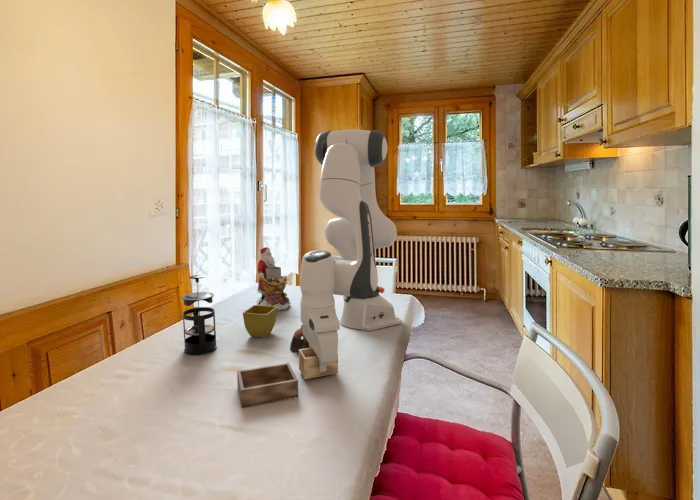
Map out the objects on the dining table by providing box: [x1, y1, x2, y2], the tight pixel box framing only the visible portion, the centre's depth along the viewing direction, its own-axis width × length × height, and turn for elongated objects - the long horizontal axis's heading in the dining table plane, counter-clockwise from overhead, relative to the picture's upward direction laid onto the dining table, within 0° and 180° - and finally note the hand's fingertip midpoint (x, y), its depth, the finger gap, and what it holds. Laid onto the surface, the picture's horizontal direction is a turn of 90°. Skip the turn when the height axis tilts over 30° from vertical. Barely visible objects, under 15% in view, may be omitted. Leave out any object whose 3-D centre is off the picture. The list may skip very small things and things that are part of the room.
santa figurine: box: [256, 246, 292, 312], centre depth 160 cm, size 17×14×25 cm
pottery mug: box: [289, 324, 310, 355], centre depth 116 cm, size 12×10×8 cm
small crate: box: [298, 348, 339, 380], centre depth 100 cm, size 9×6×6 cm, turn 111°
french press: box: [181, 274, 218, 357], centre depth 115 cm, size 12×9×23 cm
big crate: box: [236, 362, 299, 409], centre depth 92 cm, size 13×10×4 cm
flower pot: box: [242, 304, 278, 339], centre depth 128 cm, size 9×9×9 cm
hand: (318, 364), depth 101 cm, fingers closed on small crate, 6 cm apart
